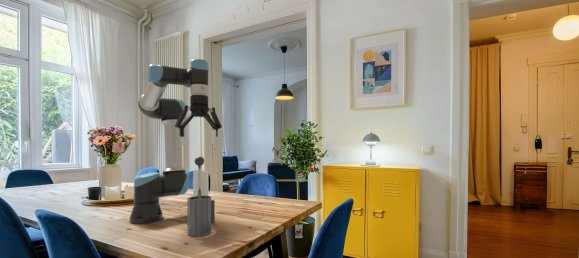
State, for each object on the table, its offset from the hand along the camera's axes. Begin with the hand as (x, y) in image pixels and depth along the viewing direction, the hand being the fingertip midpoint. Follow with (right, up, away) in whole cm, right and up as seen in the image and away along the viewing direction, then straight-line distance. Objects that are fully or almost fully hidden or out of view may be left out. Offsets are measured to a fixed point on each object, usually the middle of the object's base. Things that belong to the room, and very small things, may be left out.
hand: (199, 144), depth 122 cm
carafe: (+1, -38, -2) cm, 38 cm away
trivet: (+1, -38, -2) cm, 38 cm away
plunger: (0, -24, -1) cm, 24 cm away
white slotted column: (-5, -39, +17) cm, 43 cm away
